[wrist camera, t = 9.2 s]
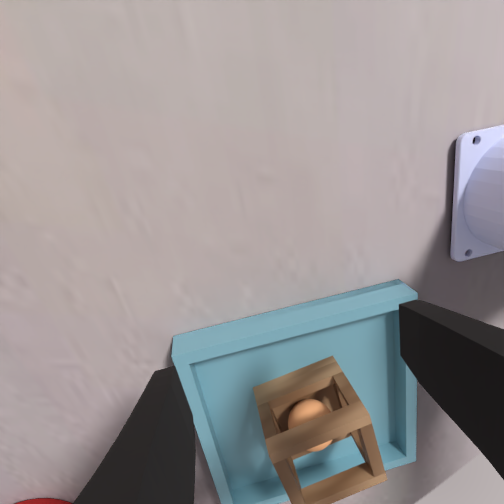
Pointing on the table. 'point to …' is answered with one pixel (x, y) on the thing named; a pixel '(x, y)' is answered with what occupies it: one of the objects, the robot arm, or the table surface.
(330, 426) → the wooden cage puzzle
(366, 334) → the tray
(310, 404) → the ball
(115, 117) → the table surface
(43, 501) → the canned food
